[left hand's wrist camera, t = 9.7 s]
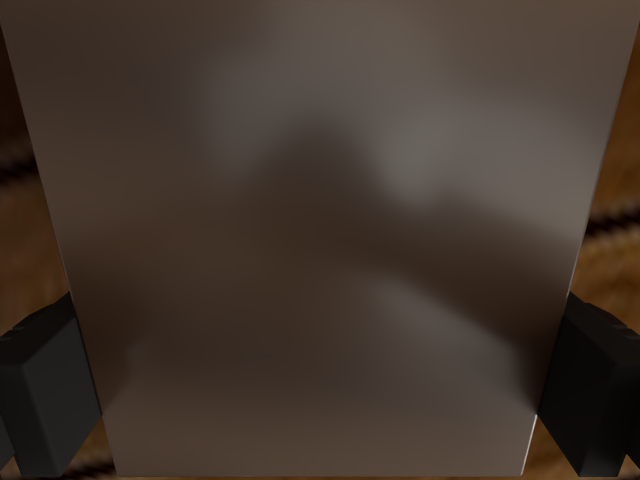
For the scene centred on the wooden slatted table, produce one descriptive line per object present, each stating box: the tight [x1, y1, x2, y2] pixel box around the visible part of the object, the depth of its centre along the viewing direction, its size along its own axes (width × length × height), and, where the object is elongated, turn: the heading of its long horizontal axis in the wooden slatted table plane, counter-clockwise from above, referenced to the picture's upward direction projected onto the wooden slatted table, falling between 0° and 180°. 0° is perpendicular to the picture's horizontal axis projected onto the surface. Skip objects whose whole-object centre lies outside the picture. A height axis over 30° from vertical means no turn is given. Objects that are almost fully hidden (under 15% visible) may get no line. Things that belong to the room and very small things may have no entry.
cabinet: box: [0, 0, 640, 477], centre depth 11 cm, size 18×10×10 cm, turn 0°
